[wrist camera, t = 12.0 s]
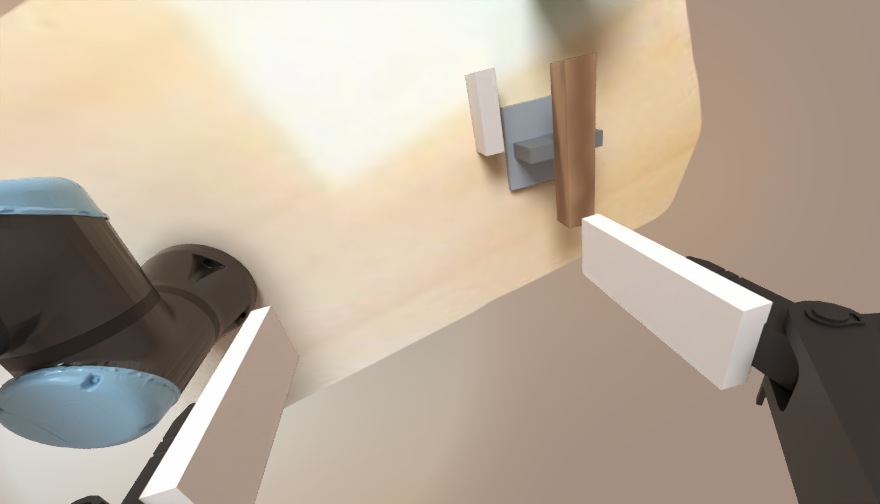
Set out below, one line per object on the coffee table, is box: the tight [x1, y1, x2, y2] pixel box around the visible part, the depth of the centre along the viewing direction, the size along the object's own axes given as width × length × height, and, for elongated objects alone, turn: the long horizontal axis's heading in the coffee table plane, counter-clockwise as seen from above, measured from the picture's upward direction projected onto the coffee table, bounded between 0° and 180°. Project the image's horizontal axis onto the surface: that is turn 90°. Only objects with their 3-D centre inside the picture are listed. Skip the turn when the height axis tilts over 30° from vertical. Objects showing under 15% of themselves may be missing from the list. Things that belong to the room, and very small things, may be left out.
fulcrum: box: [500, 95, 603, 191], centre depth 45 cm, size 12×12×7 cm
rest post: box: [465, 68, 504, 156], centre depth 43 cm, size 2×10×5 cm, turn 13°
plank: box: [550, 53, 596, 228], centre depth 40 cm, size 4×20×4 cm, turn 12°
